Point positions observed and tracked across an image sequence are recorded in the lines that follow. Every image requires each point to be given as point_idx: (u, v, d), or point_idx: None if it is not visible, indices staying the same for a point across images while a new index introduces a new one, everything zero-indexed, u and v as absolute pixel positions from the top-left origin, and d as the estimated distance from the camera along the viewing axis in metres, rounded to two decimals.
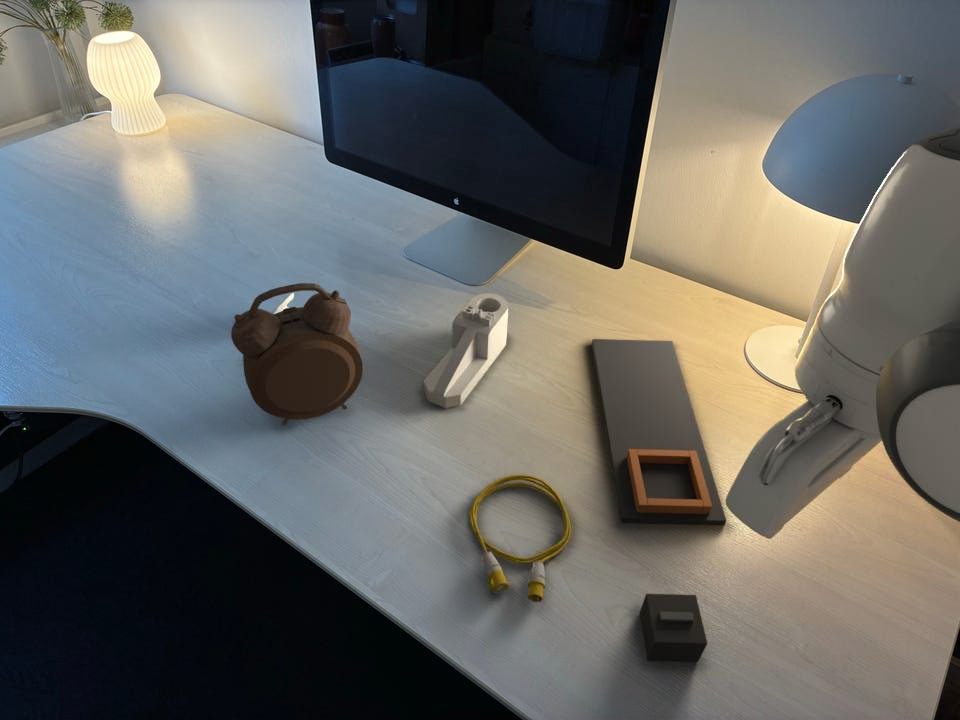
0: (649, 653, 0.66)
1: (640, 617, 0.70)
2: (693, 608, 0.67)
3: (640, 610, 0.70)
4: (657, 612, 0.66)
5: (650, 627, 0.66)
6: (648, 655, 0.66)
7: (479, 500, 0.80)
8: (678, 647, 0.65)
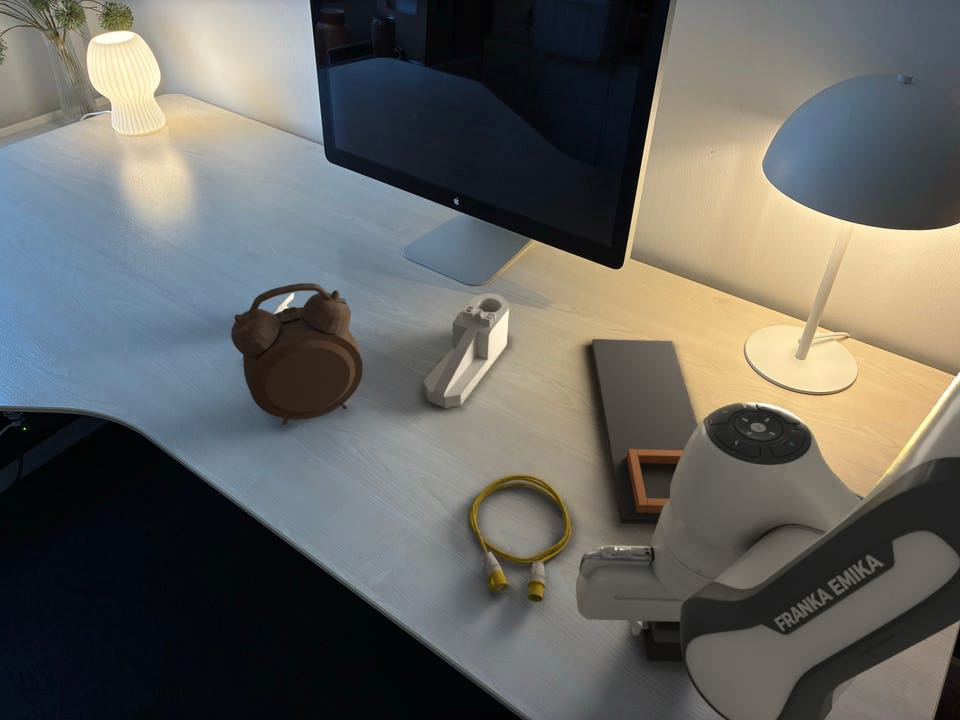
0: (649, 653, 0.66)
1: None
2: None
3: None
4: None
5: (650, 627, 0.66)
6: (648, 655, 0.66)
7: (479, 500, 0.80)
8: (678, 647, 0.65)
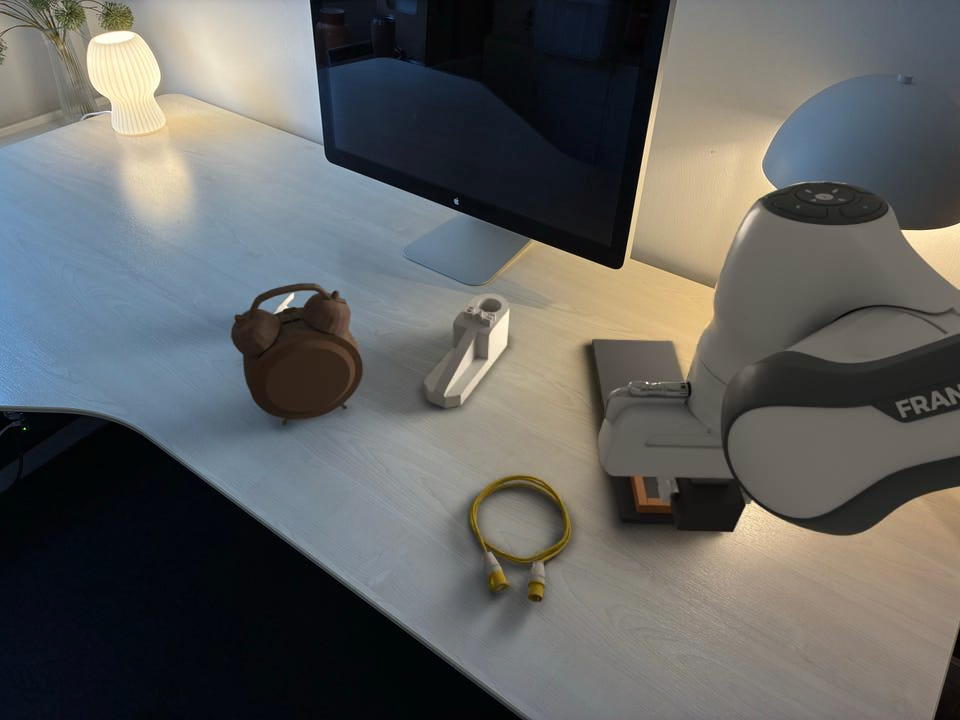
0: (679, 520, 0.59)
1: None
2: None
3: None
4: None
5: None
6: (678, 523, 0.59)
7: (479, 500, 0.80)
8: (712, 511, 0.58)
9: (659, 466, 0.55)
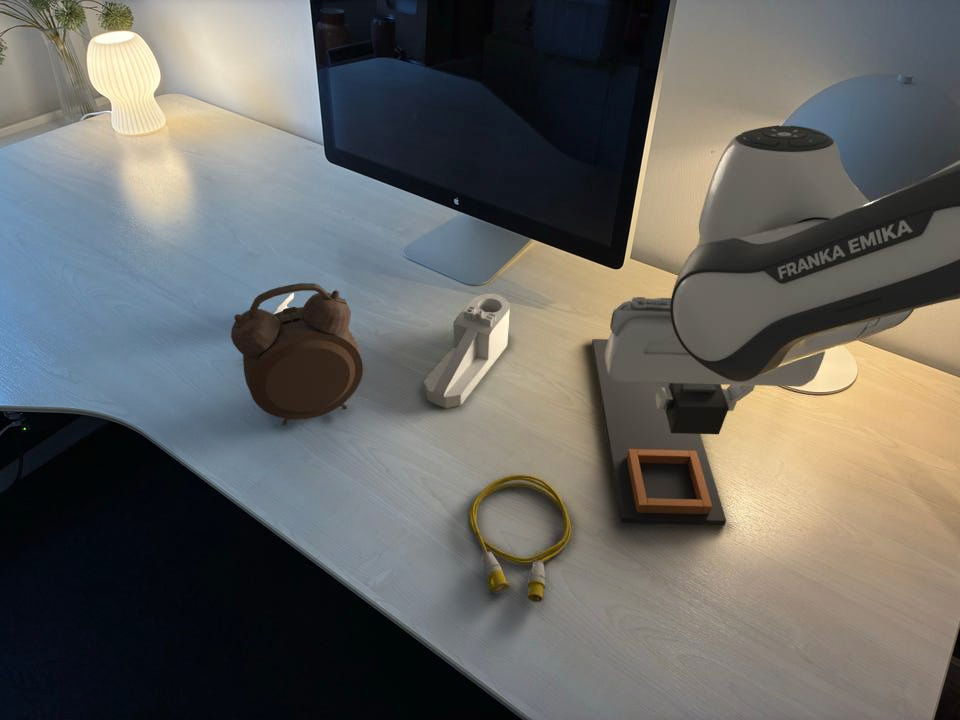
0: (673, 423, 0.70)
1: None
2: None
3: None
4: (680, 386, 0.70)
5: None
6: (672, 426, 0.70)
7: (479, 500, 0.80)
8: (701, 414, 0.69)
9: (656, 372, 0.66)
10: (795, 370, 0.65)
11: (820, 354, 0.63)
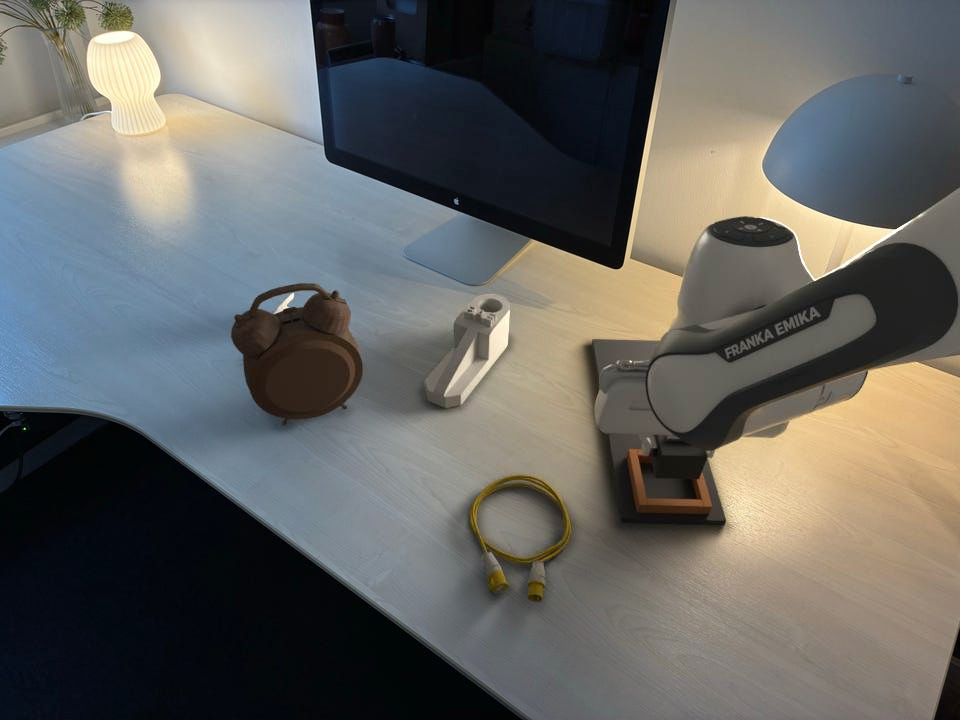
0: (657, 469, 0.76)
1: None
2: None
3: None
4: (664, 435, 0.77)
5: (658, 446, 0.76)
6: (656, 472, 0.77)
7: (479, 500, 0.80)
8: (682, 461, 0.75)
9: (640, 425, 0.72)
10: None
11: None
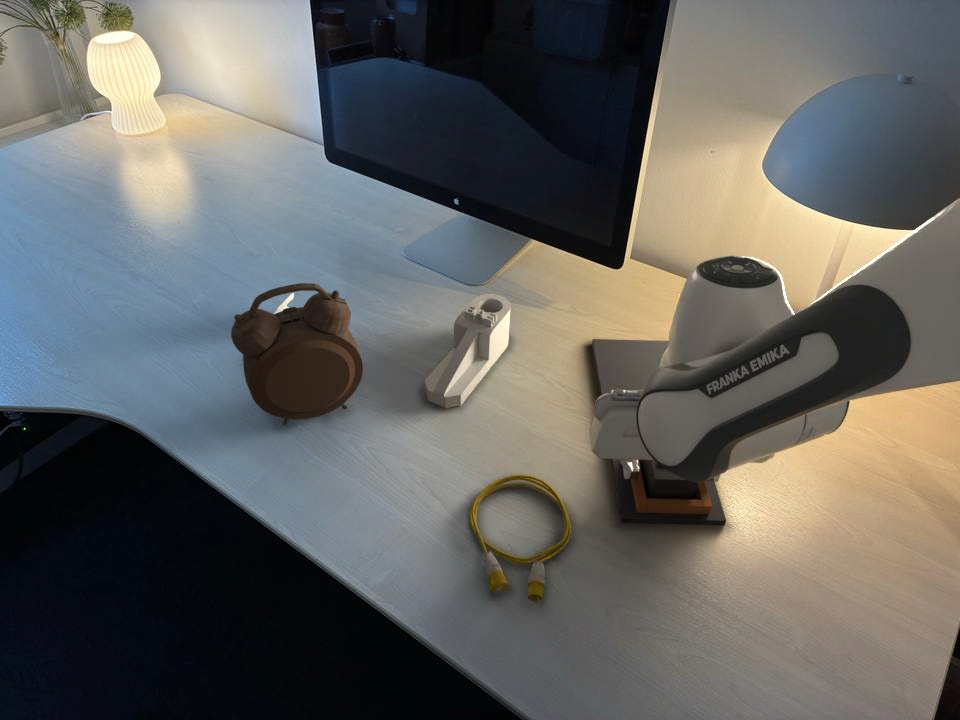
0: (650, 492, 0.79)
1: (643, 469, 0.83)
2: None
3: (643, 464, 0.83)
4: None
5: (651, 470, 0.79)
6: (649, 494, 0.80)
7: (479, 500, 0.80)
8: (674, 485, 0.78)
9: (634, 451, 0.75)
10: None
11: None
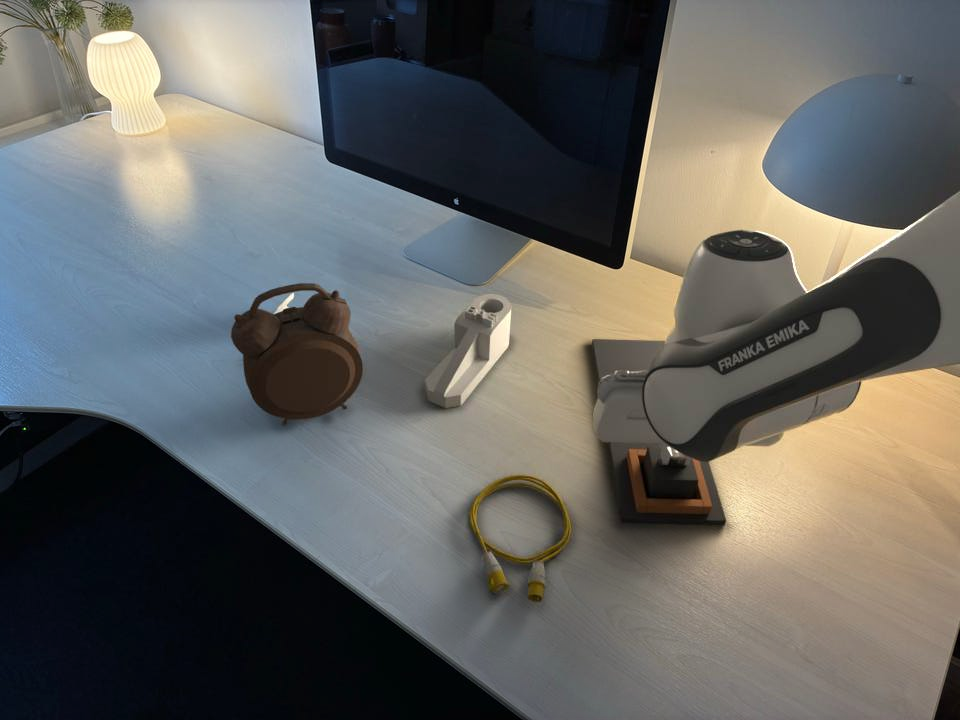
0: (650, 492, 0.79)
1: (642, 469, 0.83)
2: None
3: None
4: (656, 459, 0.80)
5: (651, 470, 0.79)
6: (649, 494, 0.80)
7: (479, 500, 0.80)
8: (674, 485, 0.78)
9: (638, 434, 0.73)
10: None
11: None
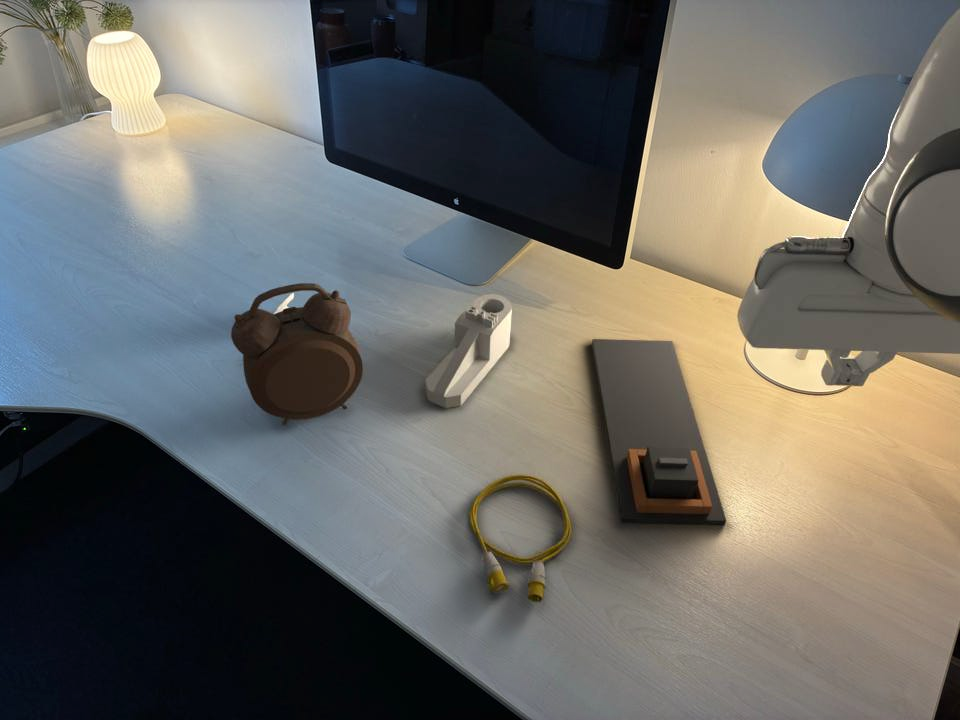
0: (650, 492, 0.79)
1: (643, 469, 0.83)
2: (687, 456, 0.80)
3: (643, 464, 0.83)
4: (656, 459, 0.80)
5: (651, 470, 0.79)
6: (649, 494, 0.80)
7: (479, 500, 0.80)
8: (674, 485, 0.78)
9: (808, 335, 0.52)
10: None
11: None
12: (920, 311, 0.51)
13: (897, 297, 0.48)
